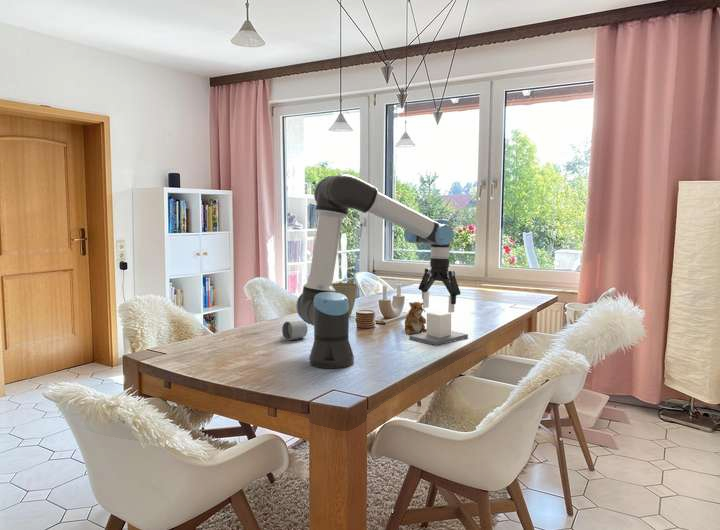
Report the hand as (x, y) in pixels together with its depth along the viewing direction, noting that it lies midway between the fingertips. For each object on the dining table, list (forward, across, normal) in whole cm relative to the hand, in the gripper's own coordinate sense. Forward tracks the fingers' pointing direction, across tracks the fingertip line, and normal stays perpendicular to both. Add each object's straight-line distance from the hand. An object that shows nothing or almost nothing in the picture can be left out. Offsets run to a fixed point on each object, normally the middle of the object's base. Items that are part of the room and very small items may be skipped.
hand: (438, 309), depth 212 cm
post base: (+12, 0, -1) cm, 12 cm away
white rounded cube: (+10, 0, -1) cm, 10 cm away
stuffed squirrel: (+12, +16, -3) cm, 21 cm away
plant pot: (+12, +64, -2) cm, 65 cm away
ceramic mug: (+13, +39, +44) cm, 61 cm away
